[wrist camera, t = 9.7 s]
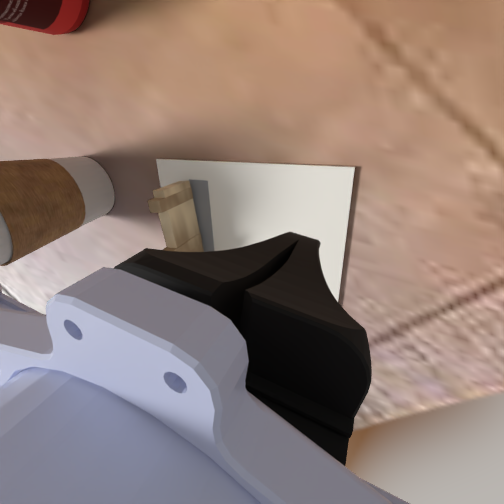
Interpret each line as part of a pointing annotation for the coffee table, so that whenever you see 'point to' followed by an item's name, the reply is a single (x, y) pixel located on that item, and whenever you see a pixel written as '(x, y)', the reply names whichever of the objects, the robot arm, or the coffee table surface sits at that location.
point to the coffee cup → (48, 201)
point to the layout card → (268, 204)
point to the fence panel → (177, 217)
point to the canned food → (44, 14)
